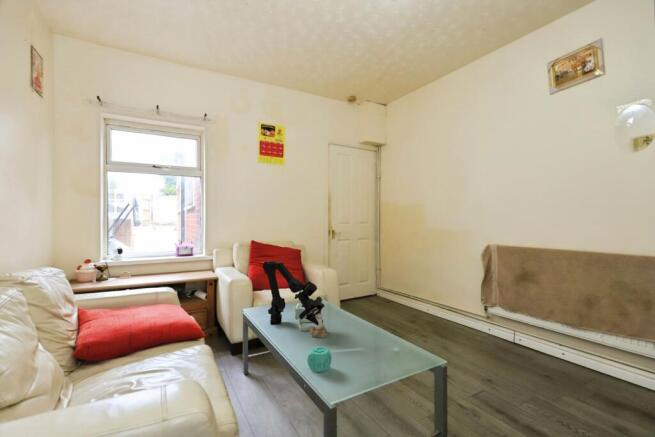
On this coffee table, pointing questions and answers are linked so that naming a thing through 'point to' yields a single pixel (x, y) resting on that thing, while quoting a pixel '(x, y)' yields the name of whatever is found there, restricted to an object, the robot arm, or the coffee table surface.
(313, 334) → the tan square frame block
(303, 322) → the parts tray
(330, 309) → the coffee table surface
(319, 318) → the ball
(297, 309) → the right angle wall
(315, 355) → the decorative dice
